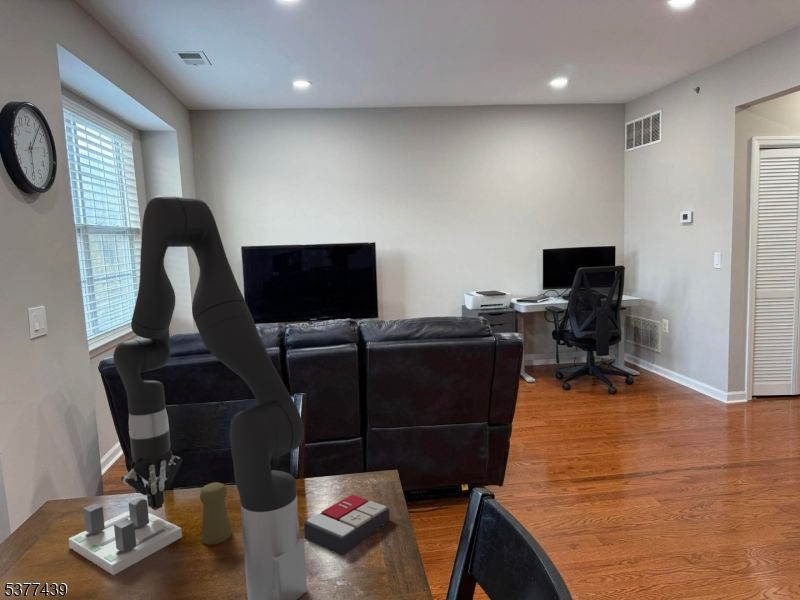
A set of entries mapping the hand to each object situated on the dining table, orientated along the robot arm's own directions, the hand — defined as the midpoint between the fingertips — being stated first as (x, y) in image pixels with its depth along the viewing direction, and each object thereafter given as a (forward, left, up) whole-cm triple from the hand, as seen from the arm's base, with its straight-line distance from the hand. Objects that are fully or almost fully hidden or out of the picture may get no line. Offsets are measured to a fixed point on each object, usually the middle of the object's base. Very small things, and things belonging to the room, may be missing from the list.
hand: (156, 507), depth 108 cm
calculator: (-37, -20, -5) cm, 42 cm away
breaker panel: (0, +7, -4) cm, 8 cm away
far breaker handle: (+6, +10, -2) cm, 12 cm away
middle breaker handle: (0, +4, -2) cm, 4 cm away
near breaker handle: (-6, +10, -2) cm, 12 cm away
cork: (-14, -4, -4) cm, 16 cm away
